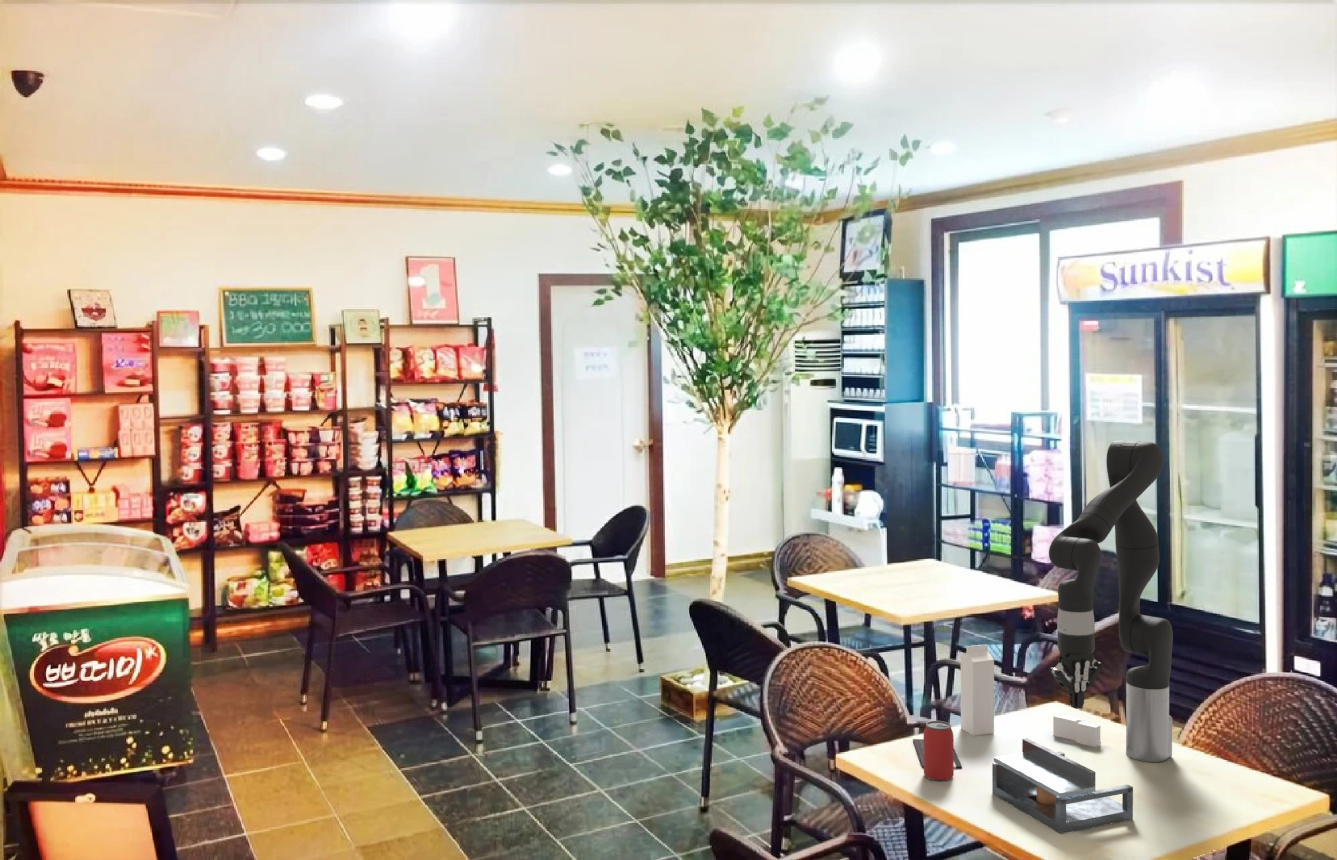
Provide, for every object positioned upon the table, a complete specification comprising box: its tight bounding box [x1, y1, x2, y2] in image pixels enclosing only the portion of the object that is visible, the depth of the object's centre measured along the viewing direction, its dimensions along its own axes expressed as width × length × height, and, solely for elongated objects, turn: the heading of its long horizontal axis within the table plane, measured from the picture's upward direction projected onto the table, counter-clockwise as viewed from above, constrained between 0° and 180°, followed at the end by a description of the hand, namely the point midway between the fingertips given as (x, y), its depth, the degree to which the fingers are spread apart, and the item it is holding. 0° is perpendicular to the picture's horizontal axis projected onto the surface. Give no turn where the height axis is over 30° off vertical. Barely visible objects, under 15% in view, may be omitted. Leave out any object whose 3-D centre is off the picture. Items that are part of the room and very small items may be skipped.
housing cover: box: [993, 737, 1096, 798], centre depth 231 cm, size 9×21×4 cm, turn 20°
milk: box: [960, 644, 995, 737], centre depth 280 cm, size 6×6×22 cm
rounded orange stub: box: [1037, 786, 1057, 807], centre depth 232 cm, size 4×4×6 cm
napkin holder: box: [1052, 713, 1101, 748], centre depth 272 cm, size 15×11×6 cm
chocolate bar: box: [912, 738, 963, 770], centre depth 265 cm, size 9×1×18 cm
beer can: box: [923, 720, 955, 782], centre depth 251 cm, size 7×7×12 cm
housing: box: [991, 751, 1134, 835], centre depth 233 cm, size 18×22×7 cm
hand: (1076, 707), depth 240 cm, fingers closed
